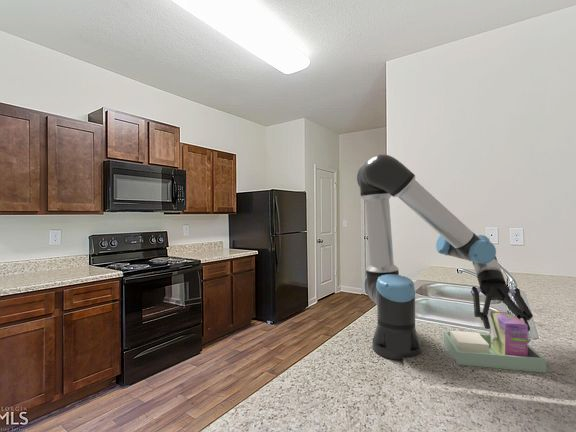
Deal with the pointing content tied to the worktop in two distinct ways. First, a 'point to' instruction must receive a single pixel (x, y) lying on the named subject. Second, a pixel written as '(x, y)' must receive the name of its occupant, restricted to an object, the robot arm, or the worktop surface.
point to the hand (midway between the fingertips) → (511, 340)
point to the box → (509, 335)
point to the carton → (469, 342)
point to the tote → (496, 357)
